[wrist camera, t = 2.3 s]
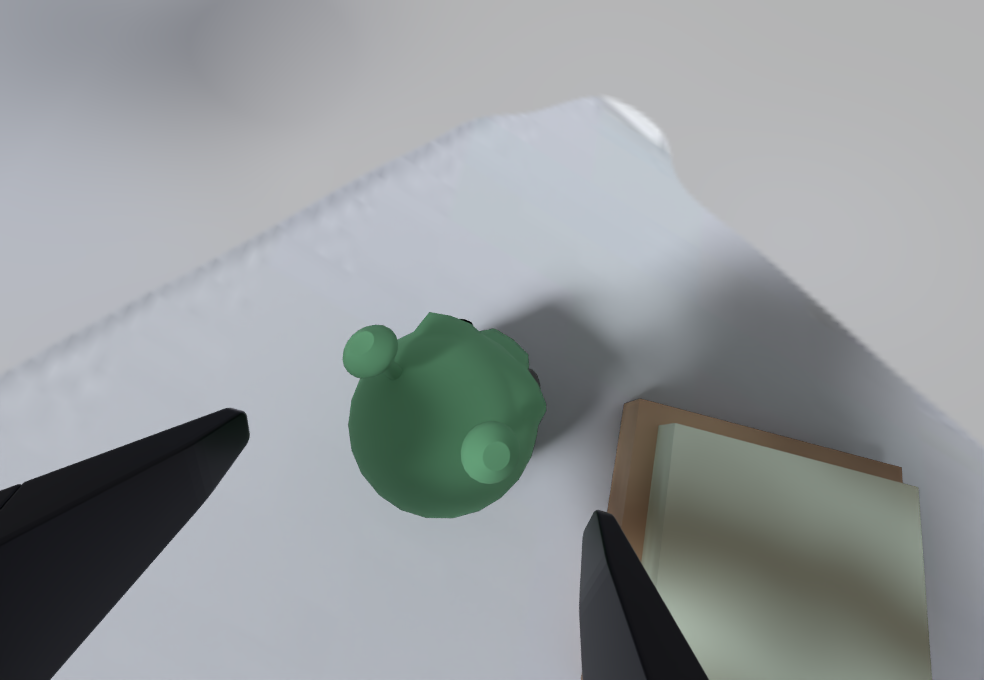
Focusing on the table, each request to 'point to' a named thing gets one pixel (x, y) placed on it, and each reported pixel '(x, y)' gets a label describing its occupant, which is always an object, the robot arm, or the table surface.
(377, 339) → the alien toy
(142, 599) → the table surface
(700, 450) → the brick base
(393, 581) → the table surface
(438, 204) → the table surface
